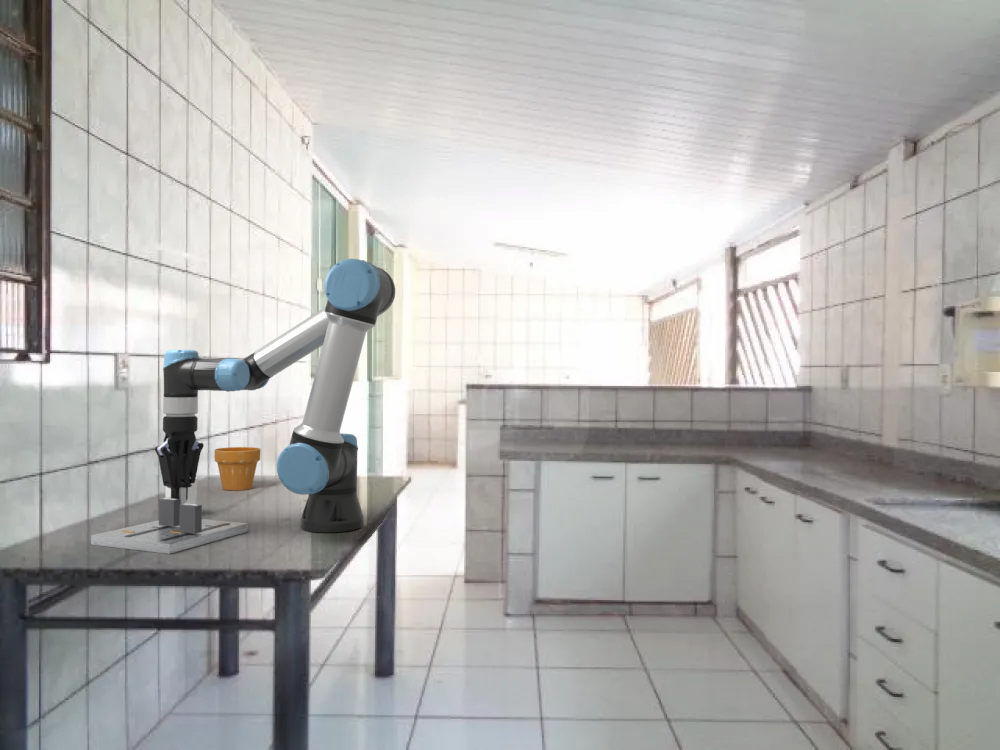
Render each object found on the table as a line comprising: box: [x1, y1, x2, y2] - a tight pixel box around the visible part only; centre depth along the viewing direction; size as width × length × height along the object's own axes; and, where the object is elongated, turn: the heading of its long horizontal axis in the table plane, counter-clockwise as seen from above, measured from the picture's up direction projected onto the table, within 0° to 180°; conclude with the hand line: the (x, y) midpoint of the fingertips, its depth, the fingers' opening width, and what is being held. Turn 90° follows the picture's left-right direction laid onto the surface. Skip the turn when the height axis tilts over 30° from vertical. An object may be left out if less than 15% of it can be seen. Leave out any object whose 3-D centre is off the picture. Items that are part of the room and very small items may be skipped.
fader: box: [179, 503, 203, 534], centre depth 165 cm, size 4×2×6 cm, turn 69°
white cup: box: [164, 476, 198, 505], centre depth 195 cm, size 8×8×10 cm
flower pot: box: [214, 446, 262, 491], centre depth 243 cm, size 14×14×13 cm
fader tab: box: [158, 497, 180, 527], centre depth 172 cm, size 4×2×6 cm, turn 69°
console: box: [90, 518, 249, 555], centre depth 169 cm, size 22×24×2 cm
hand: (179, 515), depth 175 cm, fingers closed
